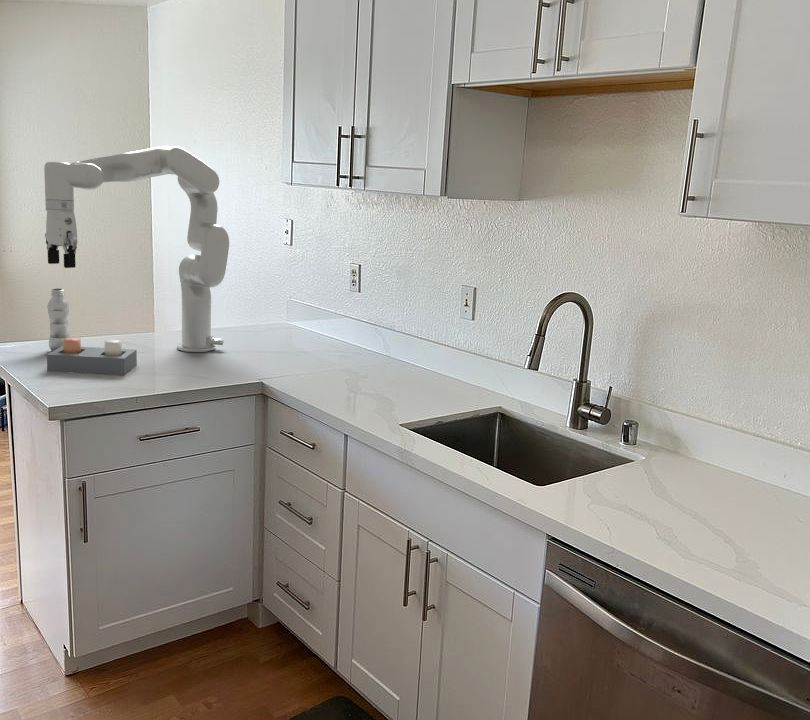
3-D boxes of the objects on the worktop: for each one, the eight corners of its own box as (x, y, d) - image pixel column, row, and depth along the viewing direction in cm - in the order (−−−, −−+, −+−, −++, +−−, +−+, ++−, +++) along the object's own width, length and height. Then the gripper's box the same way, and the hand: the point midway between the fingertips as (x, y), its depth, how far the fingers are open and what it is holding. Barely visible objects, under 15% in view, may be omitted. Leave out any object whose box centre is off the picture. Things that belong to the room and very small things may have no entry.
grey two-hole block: (136, 365, 241) (136, 349, 240) (124, 375, 229) (124, 358, 228) (63, 361, 240) (62, 345, 239) (47, 371, 228) (46, 354, 227)
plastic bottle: (75, 350, 255) (73, 288, 251) (64, 354, 249) (61, 291, 244) (56, 348, 256) (53, 287, 251) (44, 352, 249) (42, 290, 245)
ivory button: (124, 356, 237) (123, 340, 235) (119, 360, 232) (118, 343, 231) (107, 355, 236) (107, 339, 235) (102, 359, 232) (102, 342, 231)
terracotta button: (83, 354, 236) (83, 338, 235) (77, 358, 231) (77, 341, 230) (67, 353, 236) (66, 337, 235) (60, 357, 231) (60, 340, 230)
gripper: (87, 208, 224) (88, 268, 228) (58, 204, 235) (60, 261, 239) (61, 208, 219) (63, 269, 223) (32, 203, 230) (35, 262, 233)
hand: (61, 265), depth 231 cm, fingers open, 9 cm apart
